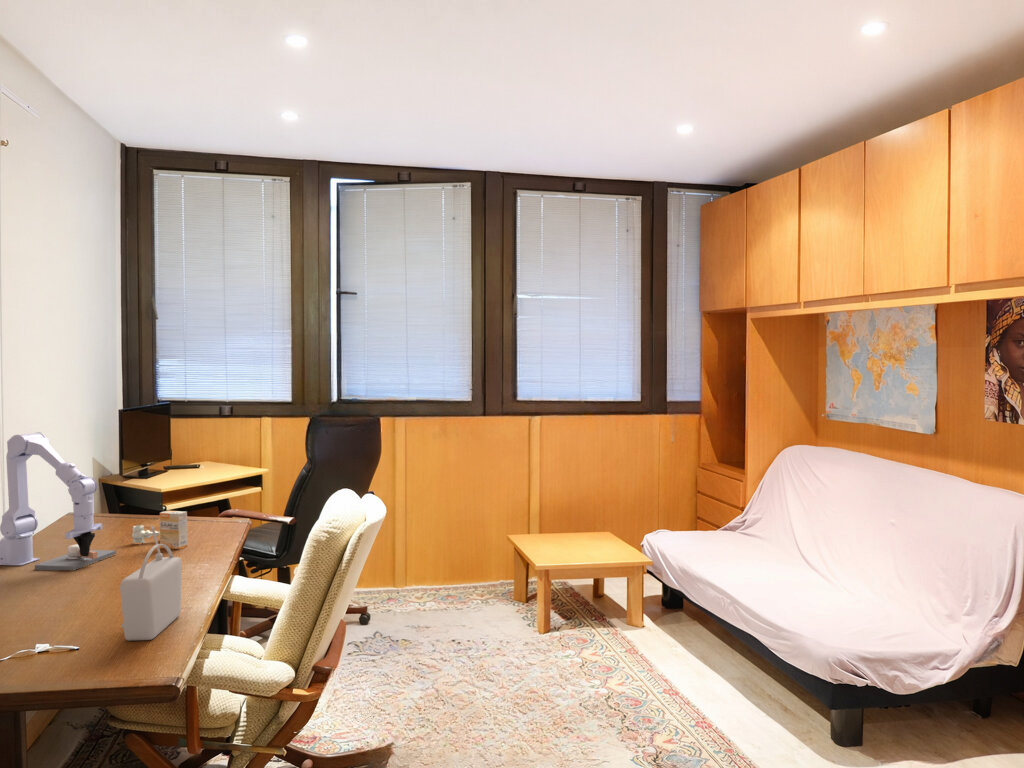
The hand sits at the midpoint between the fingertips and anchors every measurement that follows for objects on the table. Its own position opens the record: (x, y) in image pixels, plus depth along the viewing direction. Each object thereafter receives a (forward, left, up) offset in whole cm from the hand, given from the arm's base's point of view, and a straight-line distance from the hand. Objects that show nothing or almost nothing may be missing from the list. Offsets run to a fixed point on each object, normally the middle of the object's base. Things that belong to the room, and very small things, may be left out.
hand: (84, 555), depth 242 cm
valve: (+1, +32, -4) cm, 32 cm away
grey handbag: (+60, -50, -4) cm, 78 cm away
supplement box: (+15, +26, -4) cm, 30 cm away
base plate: (-6, +4, -3) cm, 8 cm away
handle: (-2, +2, -1) cm, 3 cm away
